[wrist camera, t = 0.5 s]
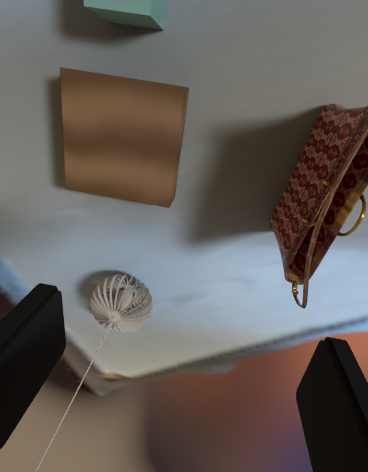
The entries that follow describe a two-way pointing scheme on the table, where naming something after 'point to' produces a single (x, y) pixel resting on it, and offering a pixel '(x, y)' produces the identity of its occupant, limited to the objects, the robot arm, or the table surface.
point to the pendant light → (118, 310)
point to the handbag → (322, 192)
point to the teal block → (130, 12)
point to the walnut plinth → (122, 136)
